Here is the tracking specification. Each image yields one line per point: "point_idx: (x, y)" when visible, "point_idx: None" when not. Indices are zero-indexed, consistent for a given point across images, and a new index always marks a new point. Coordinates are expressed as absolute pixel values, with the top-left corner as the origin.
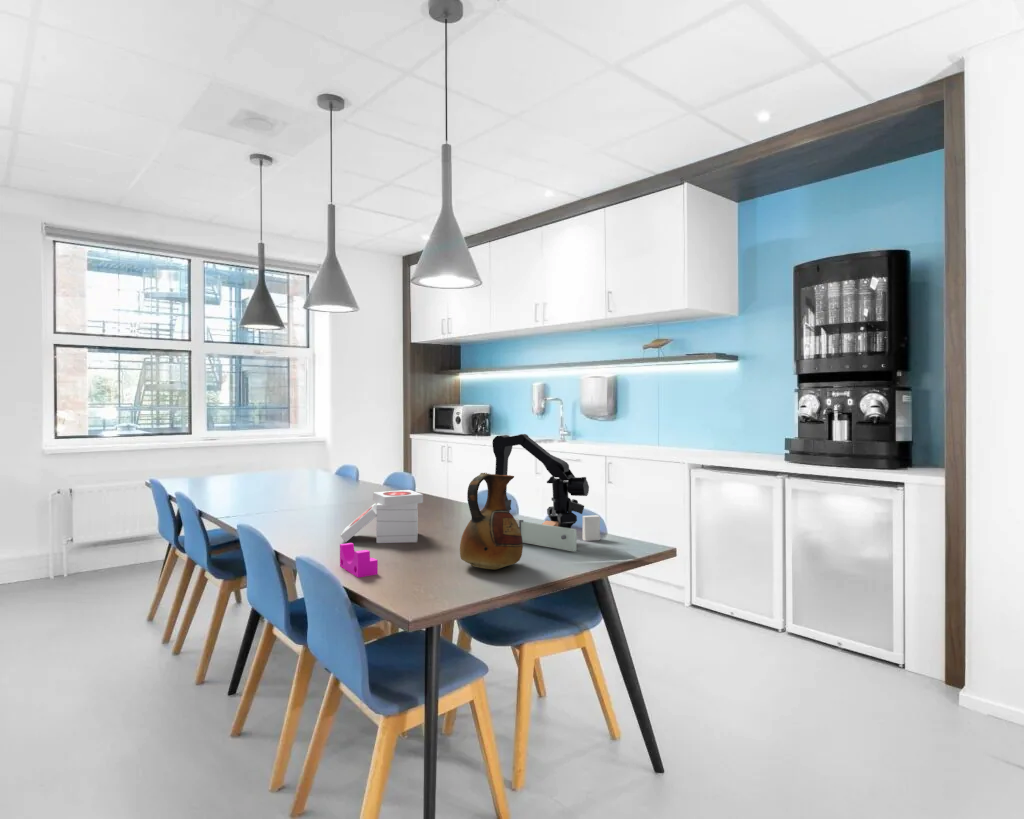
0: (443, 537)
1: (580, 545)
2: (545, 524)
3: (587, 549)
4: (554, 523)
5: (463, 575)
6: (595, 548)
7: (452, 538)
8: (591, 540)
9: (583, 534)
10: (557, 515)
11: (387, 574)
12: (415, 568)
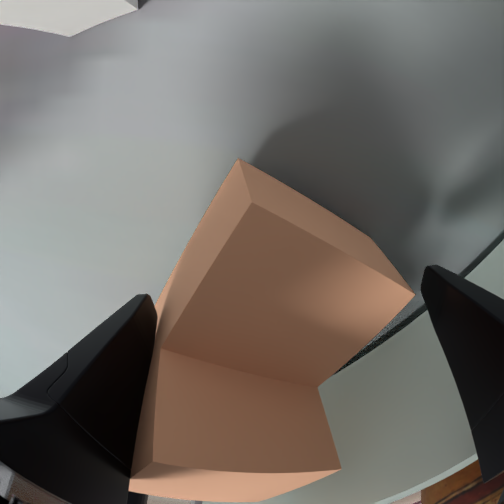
0: (150, 500)
1: (352, 89)
2: (237, 495)
3: (489, 97)
4: (236, 477)
5: None
6: (466, 22)
7: (158, 498)
8: None
9: (64, 16)
10: (48, 498)
11: (419, 499)
12: (410, 497)
